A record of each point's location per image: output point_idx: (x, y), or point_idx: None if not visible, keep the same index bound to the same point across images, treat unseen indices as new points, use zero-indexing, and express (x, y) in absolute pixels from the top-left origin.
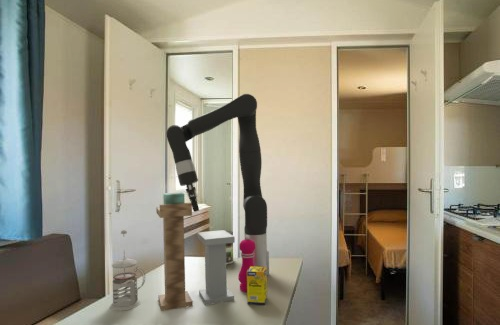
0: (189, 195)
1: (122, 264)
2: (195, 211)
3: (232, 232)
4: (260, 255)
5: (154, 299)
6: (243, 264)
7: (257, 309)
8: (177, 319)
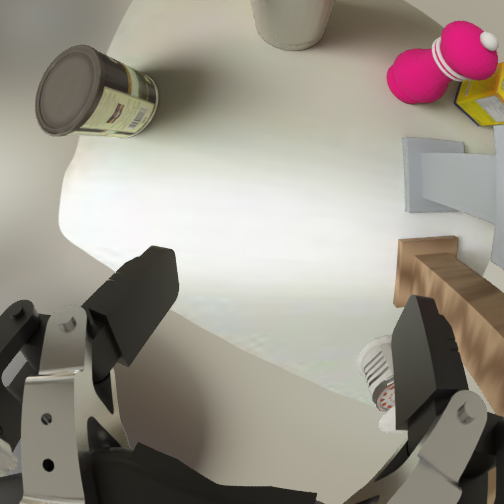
0: (482, 494)
1: None
2: (175, 280)
3: (80, 45)
4: None
5: (387, 310)
6: (448, 82)
7: None
8: (483, 268)
